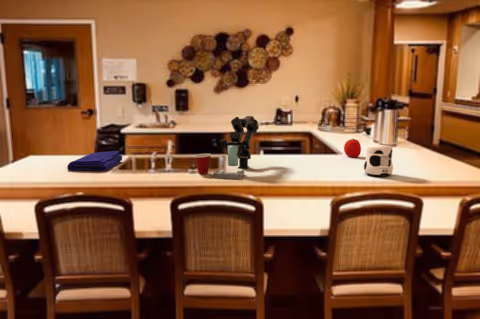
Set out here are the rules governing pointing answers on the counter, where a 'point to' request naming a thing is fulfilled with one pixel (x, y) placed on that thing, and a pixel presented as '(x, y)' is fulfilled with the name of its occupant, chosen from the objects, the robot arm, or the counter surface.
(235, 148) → the pale green upright block
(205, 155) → the plastic cup
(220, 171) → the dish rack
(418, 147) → the counter surface
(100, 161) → the towel
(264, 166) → the counter surface
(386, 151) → the milk container
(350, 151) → the tomato
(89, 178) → the counter surface
